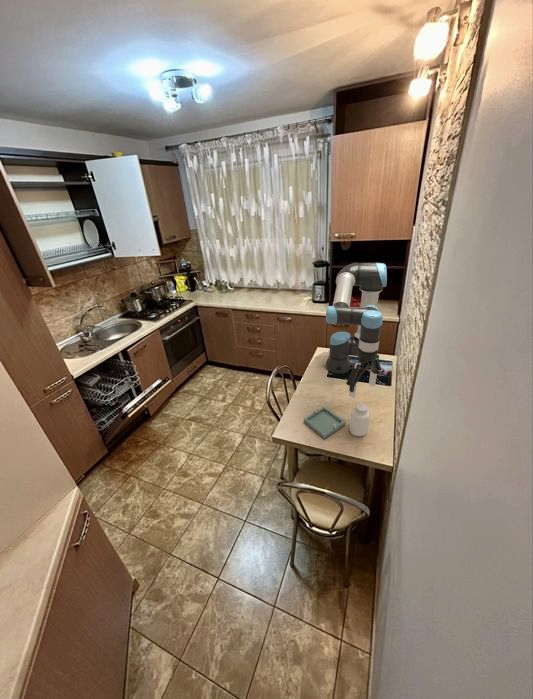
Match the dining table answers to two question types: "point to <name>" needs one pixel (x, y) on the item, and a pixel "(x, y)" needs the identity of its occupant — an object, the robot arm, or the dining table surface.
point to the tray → (324, 422)
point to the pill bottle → (359, 419)
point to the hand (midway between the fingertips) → (362, 390)
